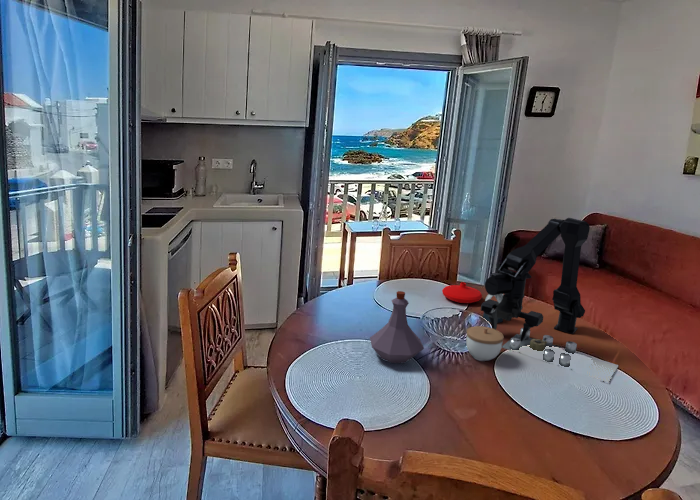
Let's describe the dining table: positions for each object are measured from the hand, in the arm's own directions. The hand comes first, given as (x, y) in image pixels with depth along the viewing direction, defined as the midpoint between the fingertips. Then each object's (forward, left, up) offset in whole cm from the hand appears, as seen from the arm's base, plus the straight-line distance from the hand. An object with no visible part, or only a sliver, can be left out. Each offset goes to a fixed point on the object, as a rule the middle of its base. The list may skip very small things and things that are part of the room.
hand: (507, 336), depth 159 cm
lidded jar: (+17, -1, -2) cm, 17 cm away
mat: (0, +16, -1) cm, 16 cm away
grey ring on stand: (-13, -10, -2) cm, 17 cm away
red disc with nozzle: (-25, -29, -2) cm, 38 cm away
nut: (0, +10, -1) cm, 10 cm away
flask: (+36, -21, -2) cm, 41 cm away
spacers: (0, +12, -1) cm, 12 cm away
